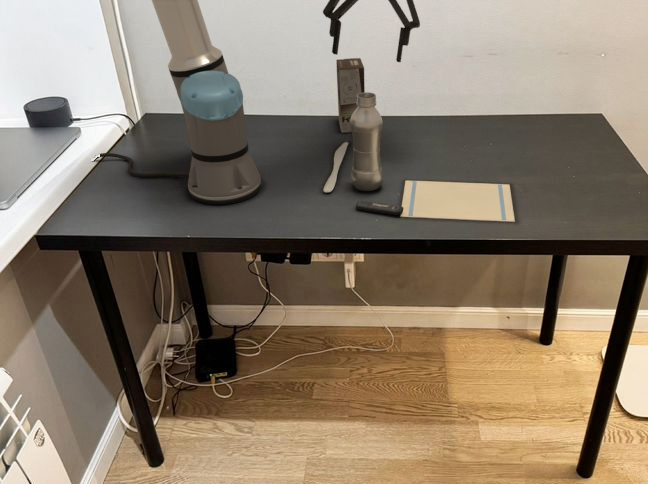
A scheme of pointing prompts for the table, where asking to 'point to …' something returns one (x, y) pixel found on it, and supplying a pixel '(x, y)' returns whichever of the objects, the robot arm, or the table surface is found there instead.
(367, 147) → the plastic bottle
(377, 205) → the usb stick
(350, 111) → the coffee box
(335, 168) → the butter knife
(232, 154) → the robot arm
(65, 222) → the table surface
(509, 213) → the dish towel
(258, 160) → the table surface
